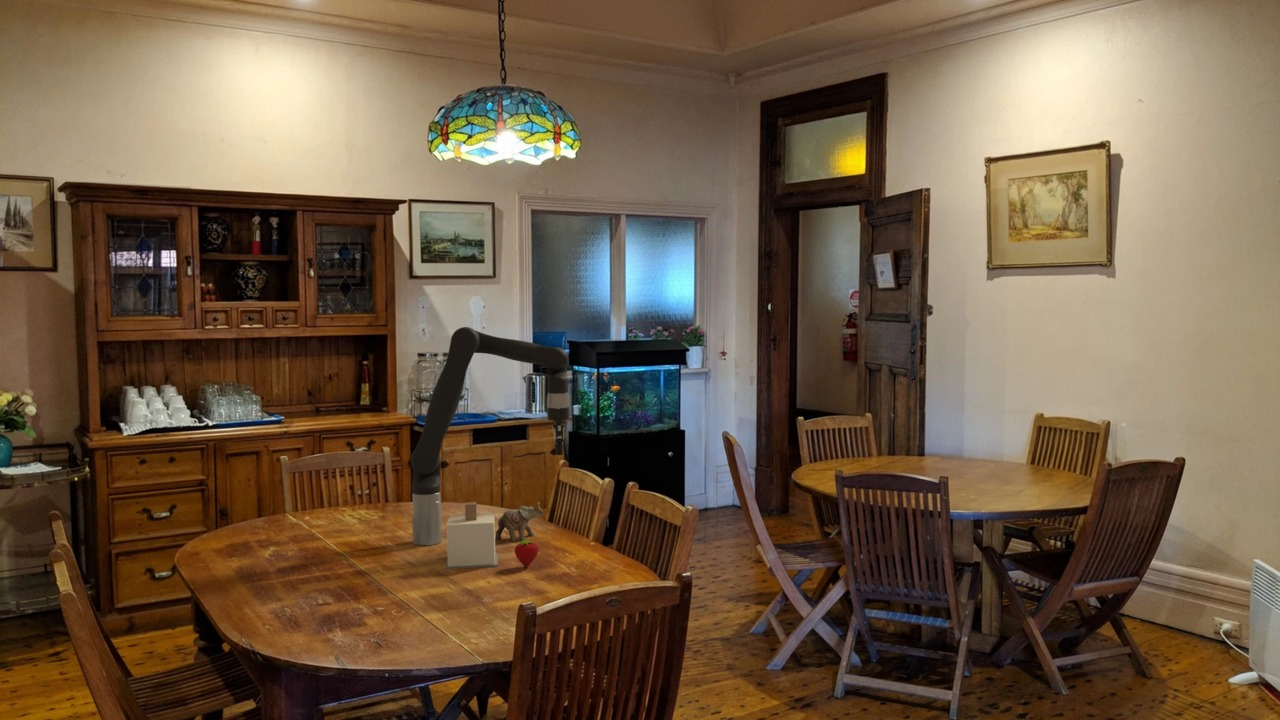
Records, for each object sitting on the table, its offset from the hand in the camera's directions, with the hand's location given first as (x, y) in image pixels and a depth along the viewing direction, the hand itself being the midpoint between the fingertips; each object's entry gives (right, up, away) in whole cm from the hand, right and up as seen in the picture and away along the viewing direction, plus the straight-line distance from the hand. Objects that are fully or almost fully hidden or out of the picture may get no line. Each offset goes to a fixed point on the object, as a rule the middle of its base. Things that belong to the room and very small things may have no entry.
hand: (558, 452), depth 326 cm
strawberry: (-7, -32, -34) cm, 47 cm away
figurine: (-13, -30, 0) cm, 33 cm away
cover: (-25, -31, -28) cm, 48 cm away
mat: (-25, -32, -28) cm, 49 cm away
